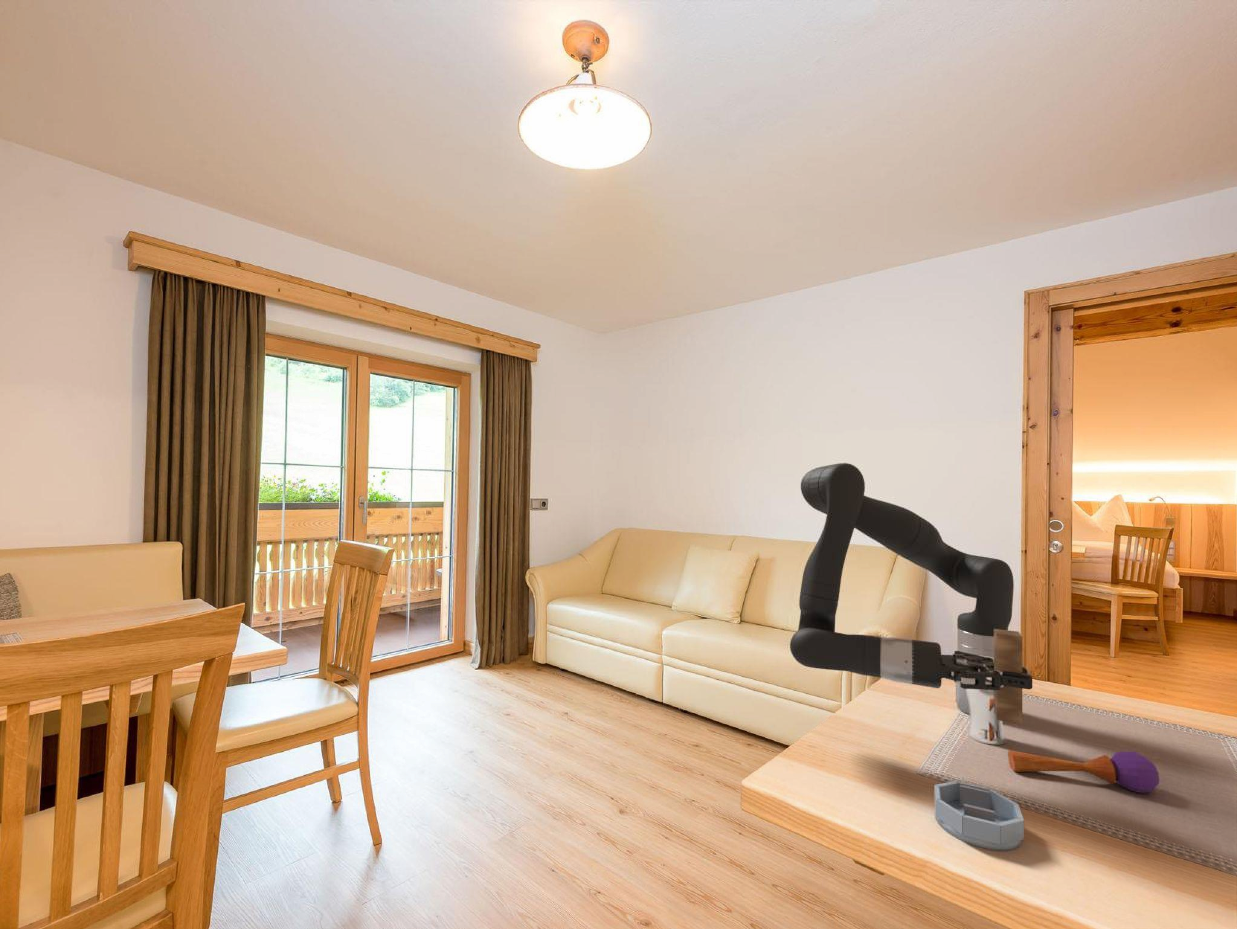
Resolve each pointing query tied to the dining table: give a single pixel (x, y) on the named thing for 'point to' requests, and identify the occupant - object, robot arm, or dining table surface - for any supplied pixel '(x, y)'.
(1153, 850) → the dining table surface
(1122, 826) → the dining table surface
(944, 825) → the blue-grey octagonal holder
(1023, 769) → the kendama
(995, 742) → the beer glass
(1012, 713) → the wooden block
